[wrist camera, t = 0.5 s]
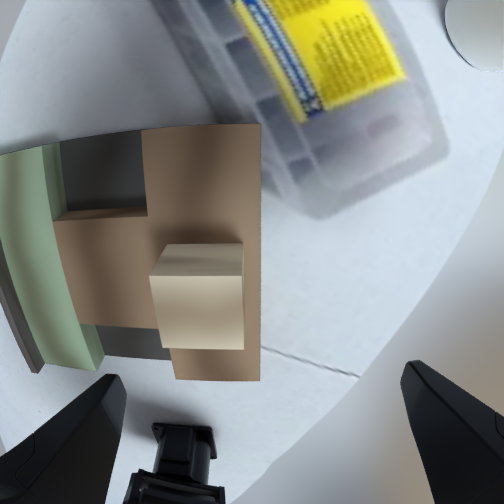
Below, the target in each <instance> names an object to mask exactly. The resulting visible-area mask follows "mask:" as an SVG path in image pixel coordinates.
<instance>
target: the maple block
mask: <svg viewBox="0 0 504 504" xmlns="http://www.w3.org/2000/svg"><path fill="white" fill-rule="evenodd" d="M149 280H150V286H151V292H152V297H153V303H154V308H155V313H156V319H157V324H158V328H159V333H160V338H161V343H162V347H163V348H184V349H231V350H244V326H245V290H244V243H226V244H167V246H166V247H165V249H164V251H163V252H162V254H161V256H160V258H159V259H158V261H157V263H156V264H155V266H154V268H153V269H152V271H151V273H150V275H149Z"/></svg>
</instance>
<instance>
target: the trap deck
mask: <svg viewBox="0 0 504 504" xmlns="http://www.w3.org/2000/svg"><path fill="white" fill-rule="evenodd" d="M226 243H244V290H245V326H244V350H231V349H184V348H163V347H162V343H161V338H160V333H159V328H158V324H157V319H156V313H155V308H154V303H153V297H152V292H151V286H150V280H149V275H150V273H151V271H152V269H153V268H154V266H155V264H156V263H157V261H158V259H159V258H160V256H161V254H162V252H163V251H164V249H165V247H166V246H167V244H226ZM0 302H1V305H2V308H3V310H4V313H5V315H6V318H7V320H8V323H9V325H10V328H11V330H12V332H13V334H14V337H15V339H16V341H17V343H18V346H19V348H20V350H21V352H22V354H23V356H24V358H25V360H26V362H27V364H28V366H29V368H30V370H31V372H32V373H37V374H38V373H39V371H40V370H41V368H42V367H43V365H44V364H45V363H47V364H52V365H58V366H64V367H70V368H76V369H82V370H89V371H96V372H97V370H98V368H99V366H100V364H101V362H102V360H103V358H104V356H105V355H110V356H120V357H131V358H143V359H157V360H172V364H173V369H174V373H175V377H176V379H180V380H201V381H260V328H261V124H260V123H237V124H208V125H190V126H176V127H163V128H153V129H143V130H134V131H126V132H118V133H110V134H103V135H97V136H90V137H84V138H78V139H72V140H67V141H62V142H56V143H51V144H46V145H42V146H37V147H33V148H28V149H24V150H20V151H15V152H11V153H7V154H4V155H0Z"/></svg>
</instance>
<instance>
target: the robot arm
mask: <svg viewBox="0 0 504 504" xmlns="http://www.w3.org/2000/svg"><path fill="white" fill-rule="evenodd" d="M400 383H401V389H402V393H403V397H404V402H405V406H406V410H407V415H408V419H409V423H410V426H411V430H412V433H413V435H414V438H415V441H416V444H417V447H418V450H419V453H420V456H421V459H422V462H423V465H424V469H425V472H426V475H427V478H428V481H429V485H430V488H431V492H432V495H433V499H434V502H435V504H504V417H503V416H502V415H500V414H499V413H498V412H495V411H494V410H493V409H491V408H490V407H489V406H487V405H485V404H484V403H483V402H481V401H479V400H478V399H476V398H475V397H474V396H472V395H470V394H469V393H468V392H466V391H465V390H463V389H462V388H460V387H459V386H457V385H456V384H454V383H453V382H451V381H450V380H449V379H447V378H446V377H444V376H443V375H441V374H440V373H438V372H437V371H435V370H434V369H432V368H431V367H429V366H428V365H426V364H425V363H423V362H422V361H420V360H413V361H408V362H407V363H406V365H405V368H404V371H403V374H402V377H401V382H400ZM126 399H127V395H126V391H125V388H124V386H123V383H122V381H121V379H120V377H119V375H117V374H105V375H104V376H103V377H101V378H100V379H99V380H98V381H96V382H95V383H94V384H93V385H91V386H90V387H89V388H88V389H87V390H85V391H84V392H83V393H82V394H80V395H79V396H78V397H77V398H75V399H74V400H73V401H72V402H71V403H69V404H68V405H67V406H66V407H64V408H63V409H62V410H61V411H59V412H58V413H57V414H56V415H55V416H53V417H52V418H51V419H50V420H48V421H47V422H46V423H45V424H43V425H42V426H41V427H40V428H38V429H37V430H36V431H35V432H34V433H32V434H31V435H30V436H28V437H27V438H26V439H25V440H23V441H22V442H21V443H19V444H18V445H17V446H16V447H14V448H13V449H11V450H10V451H8V452H7V453H5V454H4V455H2V456H1V457H0V504H105V501H106V496H107V492H108V487H109V483H110V479H111V474H112V470H113V466H114V462H115V458H116V454H117V450H118V446H119V442H120V438H121V432H122V425H123V418H124V412H125V405H126ZM151 428H152V431H153V433H154V435H155V438H156V440H157V443H158V449H157V454H156V458H155V463H154V468H153V472H152V473H151V472H147V471H144V470H143V469H140V468H139V471H138V473H132V474H131V478H130V482H129V486H128V489H127V492H126V495H125V498H124V501H123V504H226V503H225V489H224V487H222V486H219V487H217V486H211V485H208V475H209V464H210V459H216V458H217V452H216V447H215V441H214V436H213V430H212V429H211V428H209V427H194V426H180V425H168V424H158V423H153V424H152V427H151Z"/></svg>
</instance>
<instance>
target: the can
mask: <svg viewBox="0 0 504 504" xmlns="http://www.w3.org/2000/svg"><path fill="white" fill-rule="evenodd" d="M445 24H446V28H447V31H448V34H449V37H450V39H451V41H452V43H453V45H454V47H455V48H456V49H457V51H458V52H459V53H460V54H461V56H462V57H463V58H464V59H465V60H466V61H467V62H468V63H470V64H471V65H472V66H474V67H475V68H477V69H479V70H481V71H485V72H504V0H449V1H448V2H447V4H446V7H445Z"/></svg>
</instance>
